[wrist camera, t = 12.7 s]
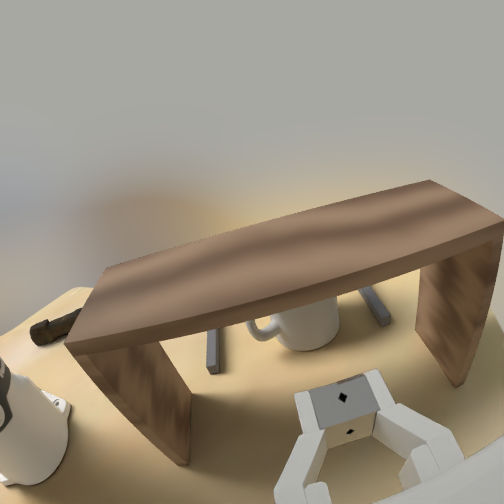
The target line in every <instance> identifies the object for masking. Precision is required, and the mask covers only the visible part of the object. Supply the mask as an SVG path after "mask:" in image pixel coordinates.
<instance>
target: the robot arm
mask: <svg viewBox="0 0 504 504" xmlns="http://www.w3.org/2000/svg"><path fill="white" fill-rule="evenodd" d="M294 398H295V402H296V406H297V411H298V415H299V419H300V423H301V427H302V431H303V434H302V435H299V437H298V439H297V441H296V444H295V446H294V448H293V450H292V452H291V455H290V457H289V459H288V461H287V463H286V465H285V468H284V470H283V472H282V474H281V476H280V478H279V480H278V482H277V484H276V486H275V488H274V490H273V492H274V499H275V504H332V502H331V498H330V494H329V491H328V487H327V483H324V482H321V481H320V482H317V483H316V480H317V478H318V475H319V472H320V470H321V467H322V464H323V461H324V458H325V456H326V453H327V449H330V448H333V447H336V446H339V445H342V444H345V443H348V442H351V441H355V440H358V439H361V438H364V437H367V436H370V435H372V436H373V437H374V438H376V439H377V440H379V441H380V442H381V443H383V444H384V445H385V446H387V447H388V448H390V449H391V450H392V451H394V452H395V453H397V454H398V455H399V456H401V457H402V458H404V459H405V460H406V462H405V464H404V465H403V467H402V469H401V471H400V472H399V474H398V477H399V480H400V483H401V486H402V488H403V491H402V492H399V493H397V494H395V495H392V496H390V497H387V498H384V499H382V500H379V501H376V502H373V503H371V504H504V434H503V435H502V436H500V437H499V438H497V439H496V440H495V441H493V442H492V443H490V444H489V445H487V446H486V447H484V448H483V449H481V450H480V451H478V452H476V453H475V454H473V455H472V456H470V457H468V458H467V459H465V457H464V455H463V453H462V451H461V449H460V447H459V445H458V443H457V441H456V439H455V437H454V436H453V434H452V432H451V430H450V429H448V428H446V427H444V426H442V425H440V424H438V423H436V422H434V421H432V420H431V419H429V418H427V417H425V416H423V415H421V414H419V413H417V412H416V411H414V410H412V409H410V408H408V407H406V406H405V405H403V404H401V403H398V404H396V403H395V401H394V399H393V397H392V395H391V393H390V391H389V389H388V387H387V385H386V383H385V381H384V379H383V377H382V375H381V374H380V372H379V370H377V369H374V370H371V371H368V372H365V373H361V374H359V375H356V376H353V377H350V378H347V379H344V380H341V381H338V382H336V383H332V384H329V385H325V386H322V387H318V388H315V389H311V390H306V391H303V392H299V393H295V394H294ZM69 412H70V404H69V403H68V402H67V401H66V400H64V399H62V398H59V397H57V396H55V395H52V394H50V393H48V392H45V391H43V390H41V389H39V388H38V387H37V386H36V385H35V384H34V383H33V382H32V381H31V380H30V379H29V378H28V377H27V376H22V375H21V374H16V373H13V372H10V370H9V368H8V367H7V366H6V364H5V363H4V361H3V360H2V358H1V357H0V482H1V483H2V484H3V485H5V486H8V485H12V484H15V483H18V484H22V485H34V484H37V483H40V482H42V481H43V480H45V479H46V478H48V477H49V476H50V475H51V474H52V473H53V472H54V471H55V469H56V468H57V467H58V465H59V464H60V462H61V460H62V458H63V456H64V453H65V450H66V447H67V442H68V426H67V419H68V415H69Z"/></svg>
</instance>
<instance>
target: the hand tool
mask: <svg viewBox="0 0 504 504" xmlns="http://www.w3.org/2000/svg"><path fill="white" fill-rule="evenodd" d="M81 310H82V308H79V309H77V310H75V311H74V312H72V313H70V314H67V315H65V316H63V317H60V318H58V319H54V320H53V321H51V322H49V321H48V319H46V320H44V321H42V322H39V323H37V324H35V325H33V326H32V327H31V328H30V335H31V339H32V341H33V342H34V343H35V344H36V345H43V344H47V343H50V342H54V341H55V340H56V338H57V337H59V336H61V335H63V334H66V333H69V332H70V330H71V328H72V326H73V324H74V323H75V321H76V319H77V317H78V315H79V313H80V312H81Z"/></svg>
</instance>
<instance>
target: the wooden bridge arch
mask: <svg viewBox="0 0 504 504" xmlns="http://www.w3.org/2000/svg"><path fill="white" fill-rule="evenodd" d="M503 236H504V219H503V218H502V217H500V216H498V215H496V214H495V213H493V212H491V211H490V210H488V209H486V208H484V207H482V206H481V205H479V204H476V203H475V202H473V201H471V200H469V199H468V198H466V197H464V196H462V195H460V194H458V193H456V192H454V191H452V190H450V189H448V188H446V187H444V186H442V185H440V184H438V183H436V182H433V181H431V180H426V181H422V182H418V183H414V184H409V185H405V186H401V187H397V188H393V189H389V190H384V191H380V192H376V193H372V194H368V195H365V196H360V197H357V198H353V199H348V200H344V201H341V202H337V203H333V204H329V205H325V206H321V207H317V208H314V209H310V210H306V211H302V212H298V213H295V214H291V215H287V216H284V217H280V218H276V219H273V220H269V221H265V222H261V223H258V224H254V225H250V226H247V227H244V228H240V229H236V230H233V231H229V232H226V233H222V234H219V235H215V236H212V237H208V238H205V239H201V240H198V241H194V242H191V243H187V244H184V245H180V246H177V247H174V248H170V249H167V250H163V251H160V252H157V253H154V254H150V255H147V256H143V257H140V258H137V259H134V260H130V261H127V262H124V263H120V264H117V265H114V266H111V267H108V268H106V269H105V271H104V272H103V274H102V276H101V277H100V279H99V280H98V282H97V284H96V286H95V287H94V289H93V291H92V292H91V294H90V296H89V297H88V299H87V301H86V303H85V304H84V306H83V308H82V310H81V312H80V313H79V315H78V317H77V319H76V321H75V323H74V324H73V326H72V328H71V330H70V332H69V334H68V336H67V338H66V340H65V342H64V345H65V346H66V348H67V349H68V350H69V352H70V353H71V354H72V356H73V357H74V358H75V360H76V361H77V362H78V363H79V365H80V366H81V367H82V368H83V370H84V371H85V372H86V373H87V375H88V376H89V377H90V378H91V380H92V381H93V382H94V383H95V384H96V385H97V387H98V388H99V389H100V390H101V391H102V392H103V393H104V395H105V396H106V397H107V398H108V399H109V400H110V401H111V402H112V403H113V405H114V406H115V407H116V408H117V409H118V410H119V411H120V412H121V413H122V414H123V415H124V416H125V417H126V418H127V419H128V420H129V421H130V422H131V423H132V424H133V425H134V426H135V427H136V428H137V429H138V430H139V431H140V432H141V433H142V434H143V435H144V436H145V437H146V438H147V439H148V440H149V441H150V442H151V443H153V444H154V445H155V446H156V447H157V448H158V449H159V450H160V451H161V452H163V453H164V454H165V455H166V456H167V457H168V458H170V459H171V460H172V461H173V462H174V463H175V464H177V465H178V466H184V465H189V445H190V418H191V397H192V393H191V391H190V390H189V388H188V387H187V385H186V384H185V382H184V381H183V379H182V378H181V376H180V375H179V373H178V372H177V370H176V368H175V367H174V365H173V364H172V362H171V361H170V359H169V357H168V356H167V354H166V353H165V351H164V349H163V348H162V346H161V344H160V343H159V341H163V340H168V339H173V338H178V337H182V336H187V335H191V334H196V333H200V332H205V331H209V330H213V329H217V328H222V327H226V326H230V325H234V324H238V323H242V322H246V321H250V320H254V319H258V318H261V317H265V316H269V315H273V314H276V313H280V312H284V311H287V310H291V309H294V308H298V307H301V306H305V305H308V304H312V303H315V302H319V301H322V300H325V299H329V298H332V297H335V296H339V295H342V294H345V293H348V292H351V291H354V290H358V289H361V288H364V287H367V286H370V285H373V284H376V283H379V282H382V281H385V280H388V279H391V278H394V277H397V276H400V275H402V274H405V273H408V272H411V271H414V270H417V269H419V268H420V284H419V297H418V308H417V317H416V326H415V330H416V332H417V333H418V334H419V336H420V337H421V339H422V340H423V341H424V343H425V344H426V346H427V347H428V349H429V350H430V351H431V353H432V354H433V356H434V357H435V359H436V360H437V362H438V363H439V365H440V366H441V368H442V369H443V371H444V372H445V374H446V375H447V377H448V378H449V380H450V381H451V383H452V384H453V386H454V387H455V388H456V387H458V386H459V385H461V384H463V383H464V381H465V379H466V376H467V374H468V371H469V368H470V366H471V363H472V361H473V358H474V355H475V352H476V349H477V347H478V344H479V341H480V337H481V334H482V331H483V328H484V325H485V321H486V318H487V314H488V311H489V307H490V303H491V299H492V295H493V291H494V286H495V282H496V277H497V272H498V267H499V262H500V255H501V249H502V243H503Z"/></svg>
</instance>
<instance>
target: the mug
mask: <svg viewBox="0 0 504 504" xmlns="http://www.w3.org/2000/svg"><path fill="white" fill-rule="evenodd" d="M270 318H271V323H270V324H269V325H268V326H266V327H265V328H263V329H258V328H257V326H256V323H255V319H254V320H250V321H246V322H245V323H246V326H247V328H248V330H249V332H250V334H251V335H252V336H253V337H254V338H255V339H256V340H258V341H267V340H270V339H272V338H273V337H275V336H276V337H277V339H278V341H279V342H280V343H281V344H282V345H283V346H285V347H287V348H289V349H292V350H296V351H309V350H314V349H317V348H320V347H322V346H324V345H326V344H327V343H329V342H330V341H331V340H332V339H333V338H334V337H335V336H336V334H337V332H338V330H339V325H340V320H339V312H338V305H337V297H336V296H335V297H332V298H329V299H325V300H322V301H319V302H315V303H312V304H308V305H305V306H301V307H298V308H294V309H291V310H287V311H284V312H280V313H276V314H273V315H270Z"/></svg>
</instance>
